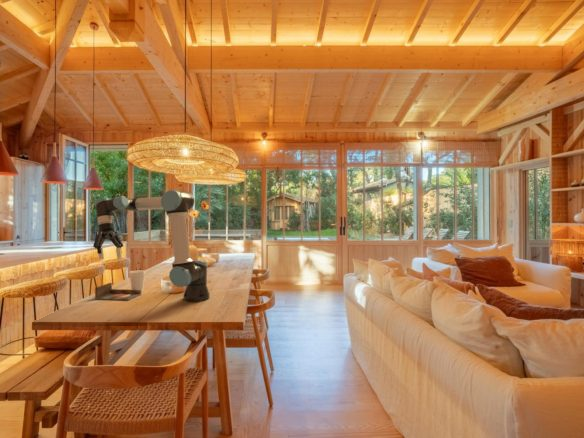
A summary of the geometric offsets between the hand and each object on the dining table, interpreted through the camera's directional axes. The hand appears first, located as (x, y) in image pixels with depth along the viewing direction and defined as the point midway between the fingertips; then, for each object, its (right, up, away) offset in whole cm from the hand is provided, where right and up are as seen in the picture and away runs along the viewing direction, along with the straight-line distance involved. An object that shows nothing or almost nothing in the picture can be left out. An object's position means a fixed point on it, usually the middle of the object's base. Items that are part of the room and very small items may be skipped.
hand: (111, 258), depth 193 cm
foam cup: (+5, -24, +22) cm, 33 cm away
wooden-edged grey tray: (+1, -24, +6) cm, 25 cm away
